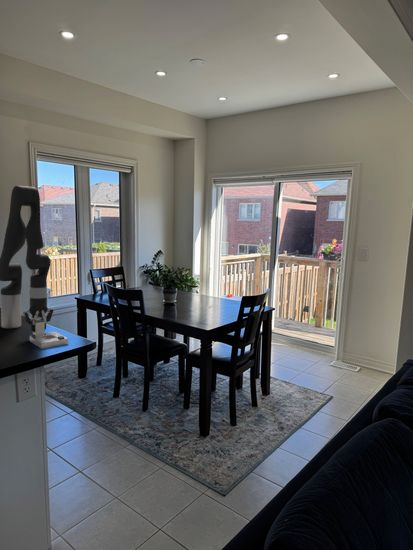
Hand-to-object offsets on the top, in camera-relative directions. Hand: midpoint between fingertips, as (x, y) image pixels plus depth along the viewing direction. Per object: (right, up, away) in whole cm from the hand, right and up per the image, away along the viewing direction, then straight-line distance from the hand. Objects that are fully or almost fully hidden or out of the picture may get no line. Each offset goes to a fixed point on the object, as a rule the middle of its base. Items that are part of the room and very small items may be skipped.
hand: (38, 331), depth 183 cm
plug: (0, -1, 0) cm, 1 cm away
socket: (+8, -4, -8) cm, 13 cm away
